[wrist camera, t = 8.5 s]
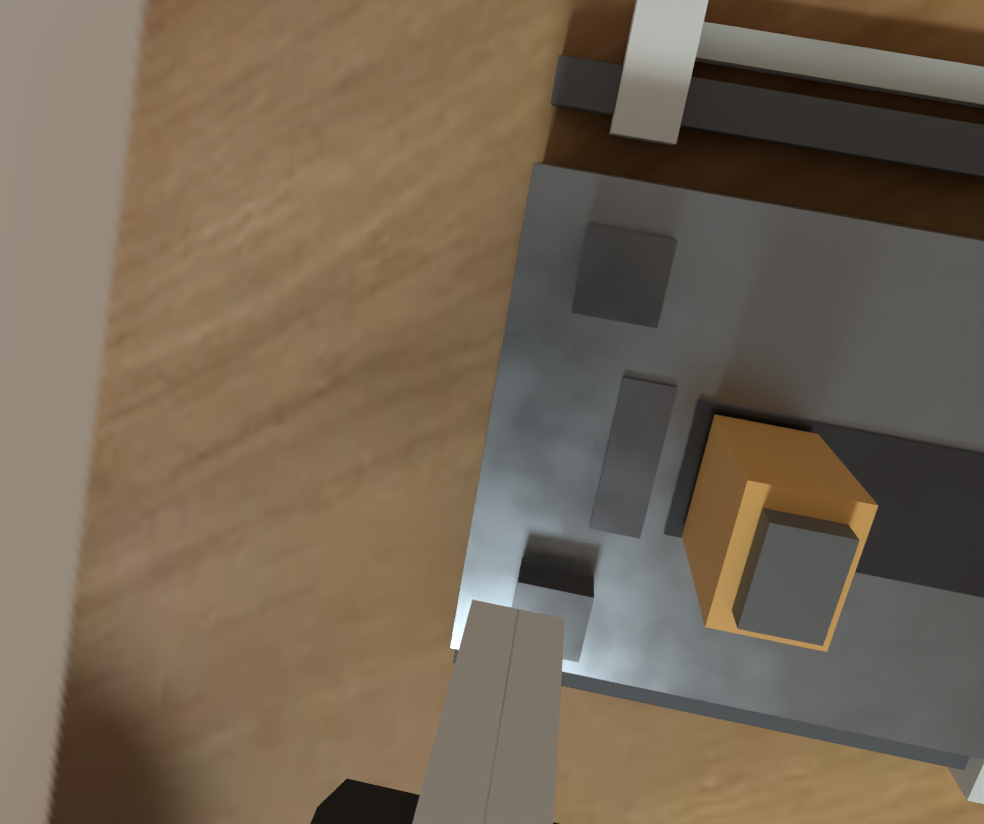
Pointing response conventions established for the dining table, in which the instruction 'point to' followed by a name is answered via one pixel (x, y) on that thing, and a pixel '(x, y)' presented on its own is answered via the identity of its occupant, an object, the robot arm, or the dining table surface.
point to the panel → (747, 396)
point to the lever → (774, 533)
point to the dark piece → (788, 121)
